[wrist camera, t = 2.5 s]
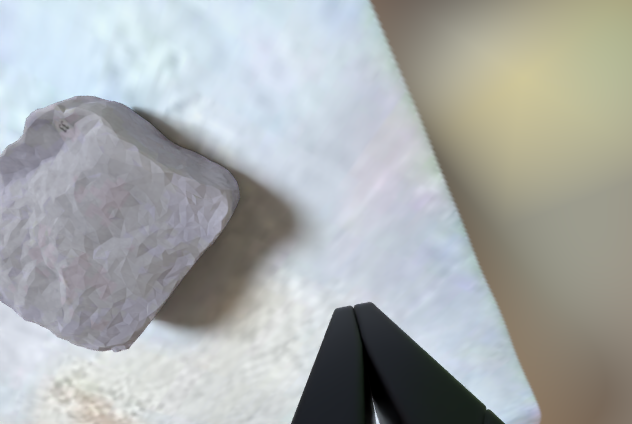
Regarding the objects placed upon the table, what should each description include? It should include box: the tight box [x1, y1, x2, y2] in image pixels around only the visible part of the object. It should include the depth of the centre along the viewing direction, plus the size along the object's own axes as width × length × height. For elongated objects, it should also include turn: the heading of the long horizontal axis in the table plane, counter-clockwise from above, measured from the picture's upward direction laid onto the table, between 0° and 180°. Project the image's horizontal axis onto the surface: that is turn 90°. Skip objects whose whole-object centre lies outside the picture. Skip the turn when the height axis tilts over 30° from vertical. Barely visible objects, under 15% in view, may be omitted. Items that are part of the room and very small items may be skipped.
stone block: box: [0, 96, 240, 352], centre depth 18 cm, size 12×5×10 cm
